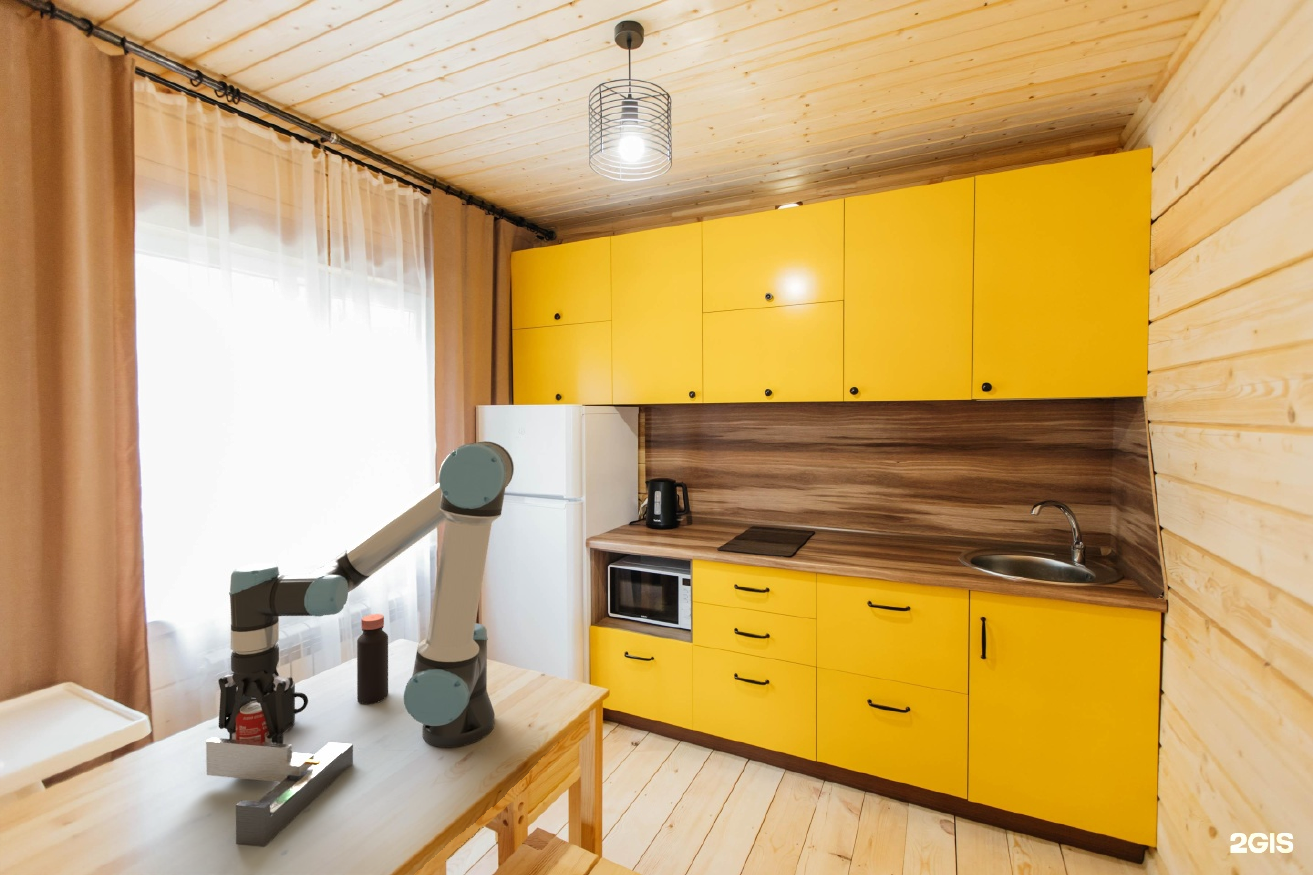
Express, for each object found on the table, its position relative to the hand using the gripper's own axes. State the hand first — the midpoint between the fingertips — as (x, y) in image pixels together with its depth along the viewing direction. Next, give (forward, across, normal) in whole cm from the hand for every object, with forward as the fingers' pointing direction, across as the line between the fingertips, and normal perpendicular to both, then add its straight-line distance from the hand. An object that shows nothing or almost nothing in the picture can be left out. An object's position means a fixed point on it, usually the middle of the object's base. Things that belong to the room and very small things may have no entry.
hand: (256, 764), depth 109 cm
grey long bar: (+2, -14, +5) cm, 15 cm away
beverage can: (+1, 0, 0) cm, 1 cm away
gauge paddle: (0, -5, +4) cm, 6 cm away
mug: (+2, +9, -16) cm, 18 cm away
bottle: (+2, -4, -31) cm, 31 cm away
